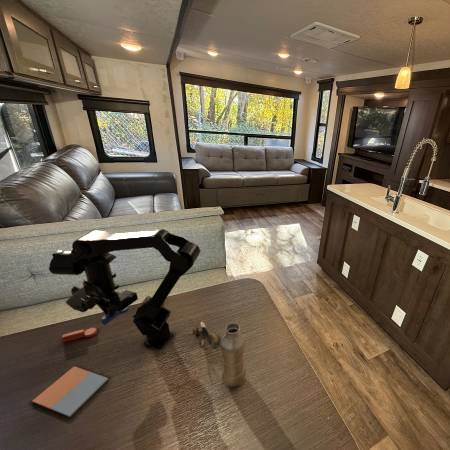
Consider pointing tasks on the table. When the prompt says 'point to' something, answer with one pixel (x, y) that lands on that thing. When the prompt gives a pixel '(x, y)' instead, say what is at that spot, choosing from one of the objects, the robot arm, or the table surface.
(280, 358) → the table surface
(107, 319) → the blue spoon
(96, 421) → the table surface
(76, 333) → the terracotta spoon
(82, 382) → the mat
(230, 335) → the plastic bottle
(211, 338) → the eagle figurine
